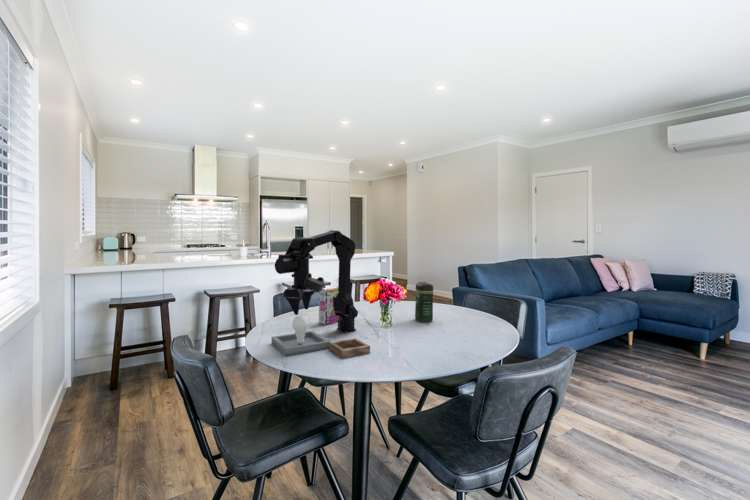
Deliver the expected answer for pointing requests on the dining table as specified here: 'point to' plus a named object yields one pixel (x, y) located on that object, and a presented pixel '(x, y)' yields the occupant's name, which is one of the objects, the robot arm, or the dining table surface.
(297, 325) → the lightbulb
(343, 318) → the robot arm
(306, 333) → the tray
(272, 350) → the dining table surface
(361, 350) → the tray
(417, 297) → the coffee jar
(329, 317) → the candy bar box
